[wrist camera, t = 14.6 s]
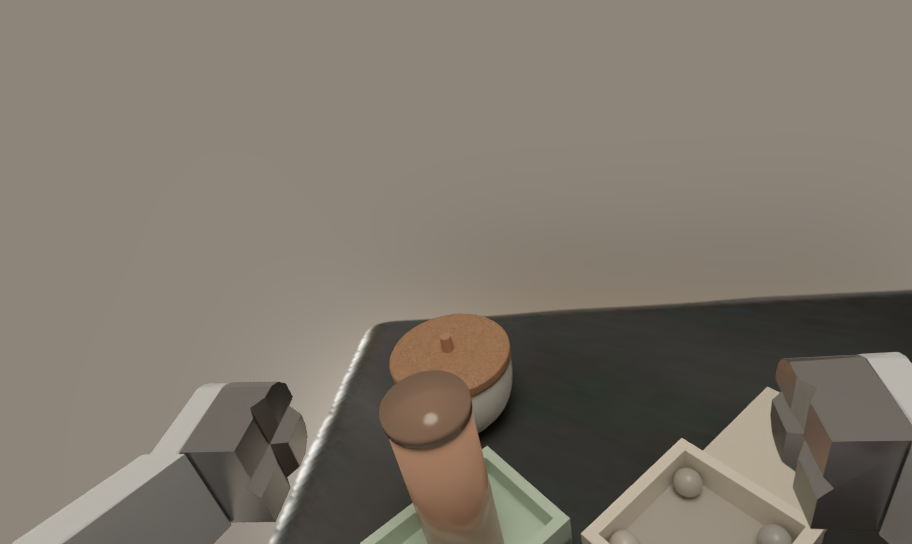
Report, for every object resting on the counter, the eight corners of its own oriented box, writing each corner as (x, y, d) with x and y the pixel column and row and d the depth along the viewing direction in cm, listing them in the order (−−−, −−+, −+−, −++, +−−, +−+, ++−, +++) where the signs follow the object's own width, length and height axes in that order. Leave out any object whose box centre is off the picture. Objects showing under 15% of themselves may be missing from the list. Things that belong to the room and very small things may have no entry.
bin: (760, 389, 49) (765, 358, 47) (895, 454, 41) (906, 421, 39) (584, 563, 39) (580, 533, 37) (719, 689, 32) (723, 660, 30)
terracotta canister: (474, 501, 43) (435, 358, 36) (521, 549, 39) (489, 400, 32) (417, 547, 41) (362, 404, 33) (462, 603, 37) (411, 456, 29)
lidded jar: (533, 379, 55) (521, 302, 50) (502, 469, 47) (484, 388, 42) (434, 367, 59) (414, 295, 54) (389, 448, 51) (361, 371, 46)
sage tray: (492, 469, 47) (486, 445, 45) (573, 543, 40) (569, 518, 39) (370, 566, 42) (359, 543, 40) (440, 669, 35) (430, 646, 33)
